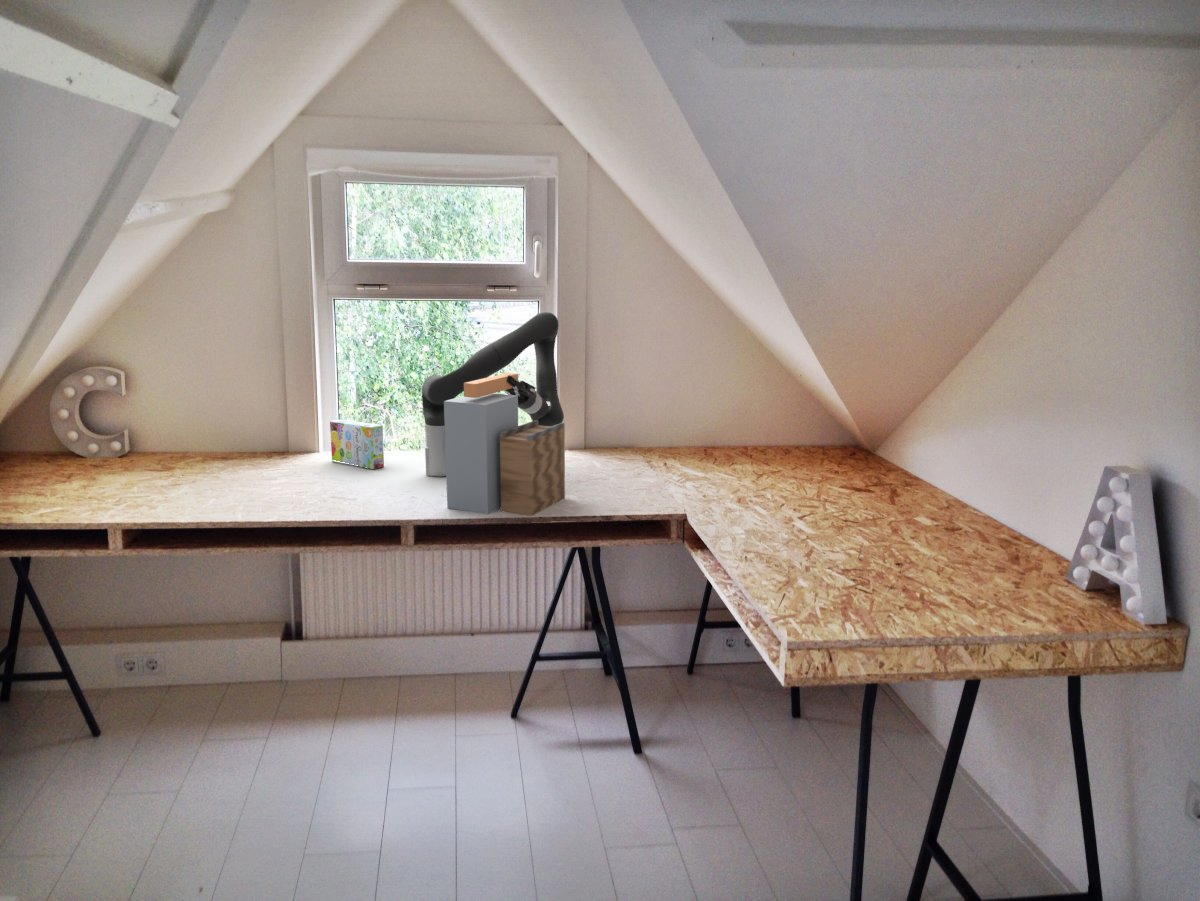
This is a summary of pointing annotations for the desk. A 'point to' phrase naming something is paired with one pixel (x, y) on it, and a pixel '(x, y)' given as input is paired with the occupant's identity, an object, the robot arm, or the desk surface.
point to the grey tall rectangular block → (476, 449)
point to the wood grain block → (532, 467)
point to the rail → (488, 385)
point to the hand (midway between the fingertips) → (501, 377)
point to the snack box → (357, 443)
